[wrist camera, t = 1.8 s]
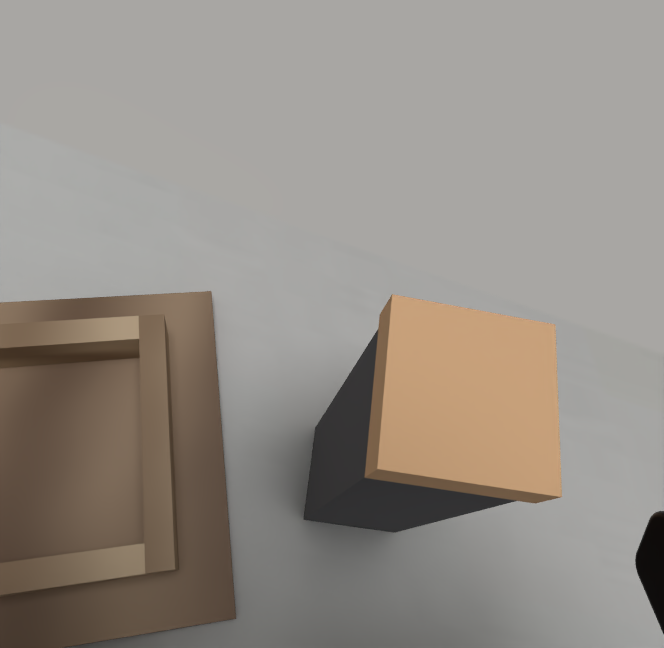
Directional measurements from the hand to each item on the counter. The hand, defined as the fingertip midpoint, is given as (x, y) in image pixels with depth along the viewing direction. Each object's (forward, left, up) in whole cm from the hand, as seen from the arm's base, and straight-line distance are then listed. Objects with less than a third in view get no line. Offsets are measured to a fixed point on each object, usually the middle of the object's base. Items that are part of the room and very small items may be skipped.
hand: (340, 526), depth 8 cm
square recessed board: (+6, +5, -13) cm, 15 cm away
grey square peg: (+1, -4, -13) cm, 13 cm away
